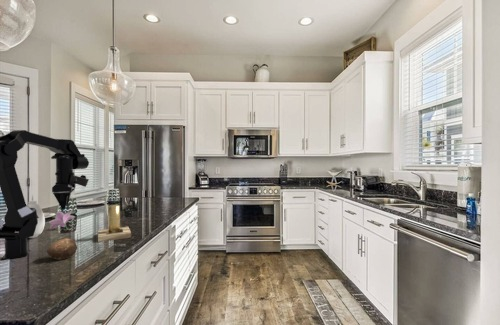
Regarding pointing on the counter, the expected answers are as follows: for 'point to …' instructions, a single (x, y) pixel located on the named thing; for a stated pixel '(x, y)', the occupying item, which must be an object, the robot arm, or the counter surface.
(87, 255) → the counter surface
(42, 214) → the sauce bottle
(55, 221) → the lily
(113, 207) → the brass cylinder peg
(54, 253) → the potato
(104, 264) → the counter surface
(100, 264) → the counter surface
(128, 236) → the jig
